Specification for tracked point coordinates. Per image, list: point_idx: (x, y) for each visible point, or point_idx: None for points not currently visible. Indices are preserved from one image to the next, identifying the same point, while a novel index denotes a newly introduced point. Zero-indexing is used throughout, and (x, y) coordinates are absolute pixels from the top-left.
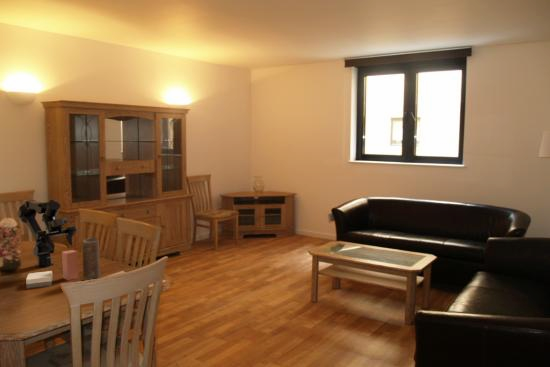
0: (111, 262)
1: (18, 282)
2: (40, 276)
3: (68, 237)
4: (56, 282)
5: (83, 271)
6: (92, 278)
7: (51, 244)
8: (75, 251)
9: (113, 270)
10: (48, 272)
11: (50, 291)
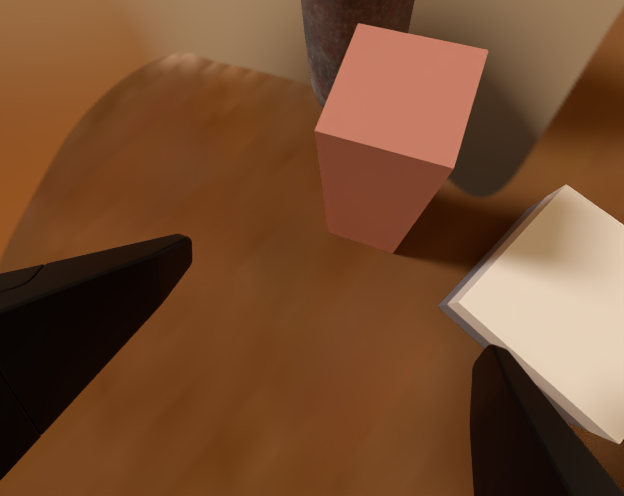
0: (35, 221)
1: None
2: (605, 265)
3: (9, 368)
4: (473, 225)
5: None
6: None
7: (526, 408)
8: (361, 38)
9: (174, 102)
10: (502, 293)
11: (598, 130)
